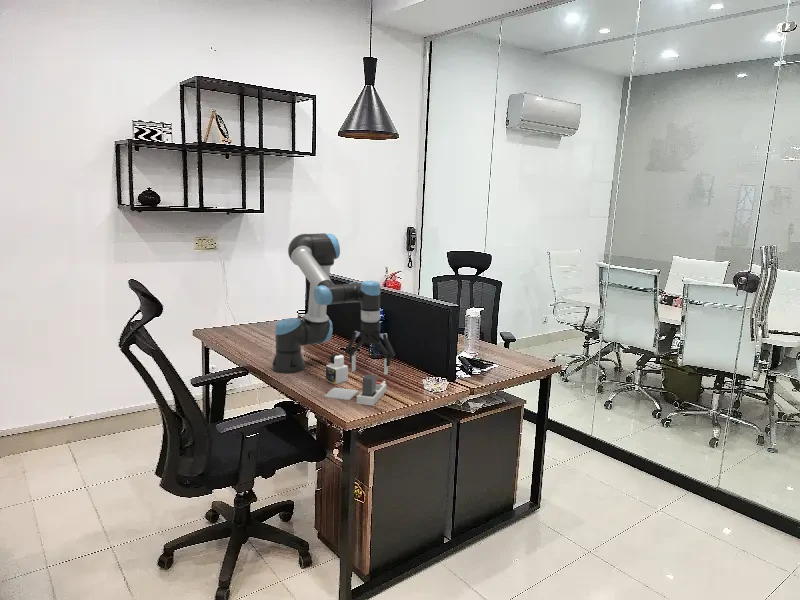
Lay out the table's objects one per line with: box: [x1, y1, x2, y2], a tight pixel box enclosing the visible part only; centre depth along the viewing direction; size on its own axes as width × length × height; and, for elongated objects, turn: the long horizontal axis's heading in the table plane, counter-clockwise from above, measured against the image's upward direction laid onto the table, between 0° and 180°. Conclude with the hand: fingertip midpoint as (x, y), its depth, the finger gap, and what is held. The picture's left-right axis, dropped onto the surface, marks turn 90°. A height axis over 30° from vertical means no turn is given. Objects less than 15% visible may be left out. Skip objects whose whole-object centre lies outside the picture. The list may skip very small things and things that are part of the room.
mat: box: [323, 387, 359, 401], centre depth 232 cm, size 11×11×1 cm
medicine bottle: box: [325, 353, 349, 385], centre depth 247 cm, size 7×7×12 cm
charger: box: [361, 374, 377, 397], centre depth 225 cm, size 5×4×10 cm
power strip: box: [356, 380, 388, 407], centre depth 234 cm, size 27×7×4 cm, turn 165°
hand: (369, 372), depth 223 cm, fingers open, 13 cm apart
